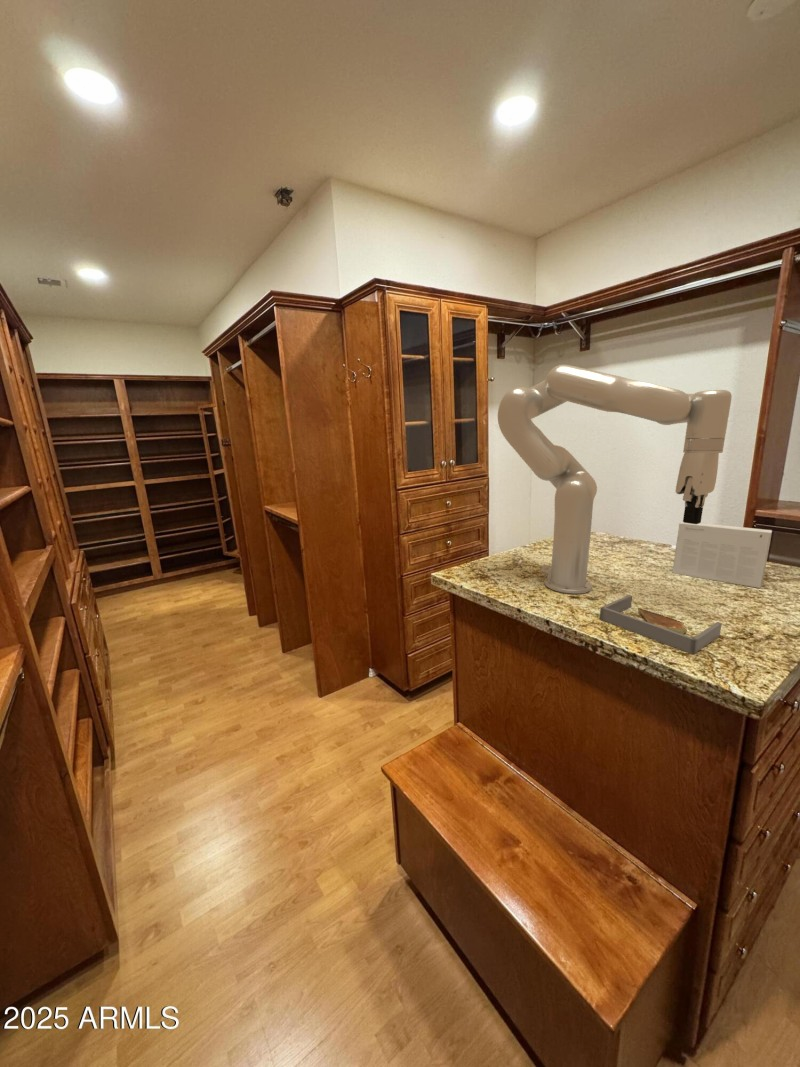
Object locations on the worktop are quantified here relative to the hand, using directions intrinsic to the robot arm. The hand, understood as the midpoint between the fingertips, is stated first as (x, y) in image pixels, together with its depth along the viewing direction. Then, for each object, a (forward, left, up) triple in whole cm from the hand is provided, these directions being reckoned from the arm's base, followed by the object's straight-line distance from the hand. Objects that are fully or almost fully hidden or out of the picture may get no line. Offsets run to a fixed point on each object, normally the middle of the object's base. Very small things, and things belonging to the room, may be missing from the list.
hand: (691, 522), depth 100 cm
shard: (+2, -17, -22) cm, 28 cm away
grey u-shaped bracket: (+3, -18, -21) cm, 28 cm away
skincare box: (-2, +28, -21) cm, 35 cm away
